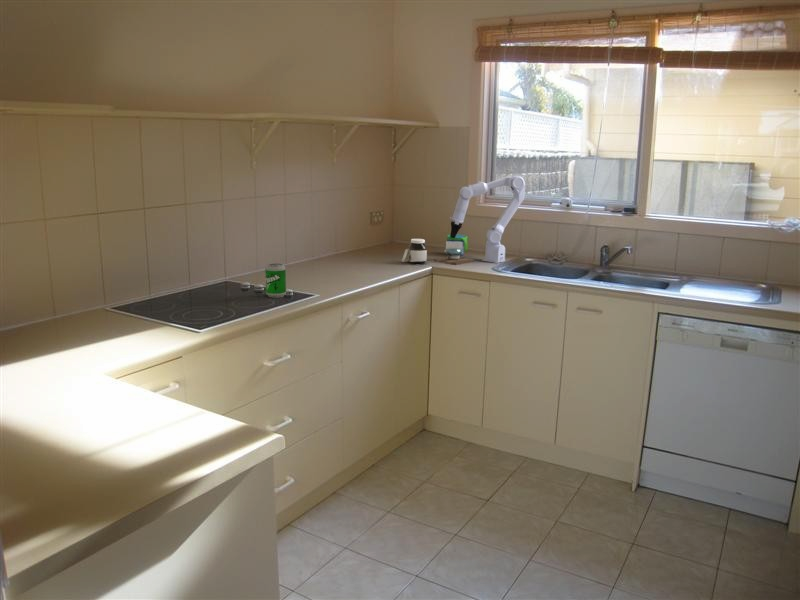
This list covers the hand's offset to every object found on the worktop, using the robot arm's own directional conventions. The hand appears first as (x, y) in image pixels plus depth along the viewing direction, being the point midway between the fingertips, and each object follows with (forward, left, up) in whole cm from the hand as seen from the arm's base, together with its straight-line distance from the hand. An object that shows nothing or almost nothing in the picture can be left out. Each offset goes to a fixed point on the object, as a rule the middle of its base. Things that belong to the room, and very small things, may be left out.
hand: (452, 237), depth 345 cm
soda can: (-6, +113, -12) cm, 113 cm away
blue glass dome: (-2, +2, -8) cm, 8 cm away
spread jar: (+7, +21, -12) cm, 25 cm away
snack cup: (+8, -14, -12) cm, 21 cm away
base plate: (-3, +2, -12) cm, 12 cm away
